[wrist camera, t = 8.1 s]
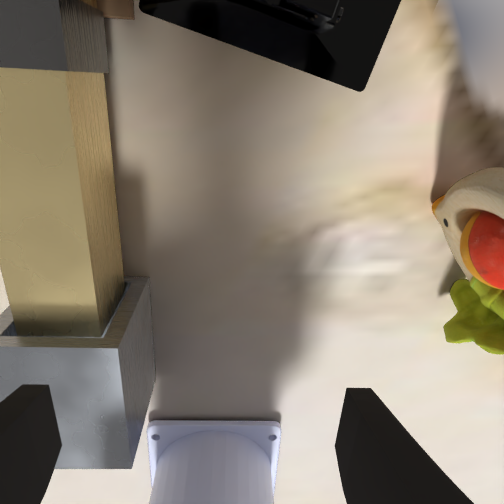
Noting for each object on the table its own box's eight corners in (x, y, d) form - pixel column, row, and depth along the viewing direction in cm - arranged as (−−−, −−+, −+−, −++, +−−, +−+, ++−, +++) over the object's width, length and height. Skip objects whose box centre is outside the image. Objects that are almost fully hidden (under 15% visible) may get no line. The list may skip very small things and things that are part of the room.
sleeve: (156, 378, 22) (131, 468, 17) (61, 377, 21) (7, 469, 16) (149, 277, 19) (117, 348, 14) (41, 274, 19) (-31, 346, 14)
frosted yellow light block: (129, 289, 18) (103, 339, 15) (54, 287, 18) (11, 337, 15) (94, -76, 13) (40, -137, 9) (-15, -85, 12) (-114, -150, 9)
